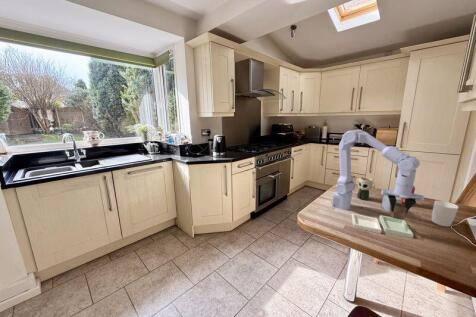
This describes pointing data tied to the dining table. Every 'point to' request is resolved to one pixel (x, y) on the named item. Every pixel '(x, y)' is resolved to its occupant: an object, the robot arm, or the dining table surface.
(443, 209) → the white cup
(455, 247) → the dining table surface
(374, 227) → the cream dish
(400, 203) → the soda can
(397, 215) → the walnut block
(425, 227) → the dining table surface
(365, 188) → the character mug
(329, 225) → the dining table surface
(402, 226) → the sage tray
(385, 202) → the medicine box
